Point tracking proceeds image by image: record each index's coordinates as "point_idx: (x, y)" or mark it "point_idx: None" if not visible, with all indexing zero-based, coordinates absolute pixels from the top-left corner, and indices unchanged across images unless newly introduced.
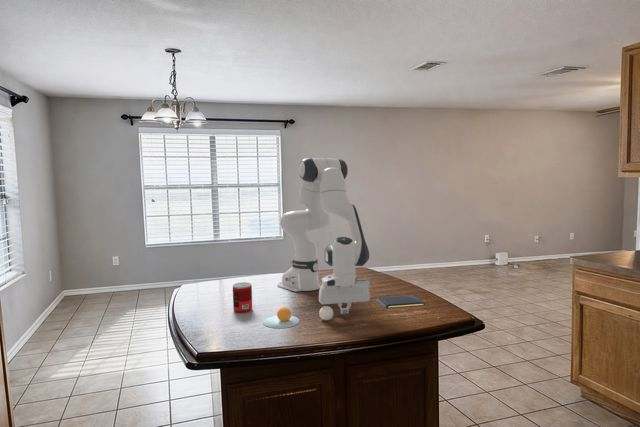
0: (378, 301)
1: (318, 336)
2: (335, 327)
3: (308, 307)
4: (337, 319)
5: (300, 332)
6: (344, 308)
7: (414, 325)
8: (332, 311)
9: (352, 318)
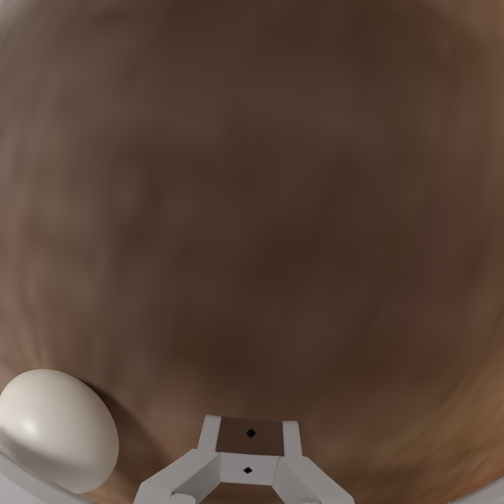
0: None
1: None
2: None
3: (21, 36)
4: (172, 421)
5: None
6: (253, 461)
7: (487, 477)
8: (101, 483)
9: (313, 434)
